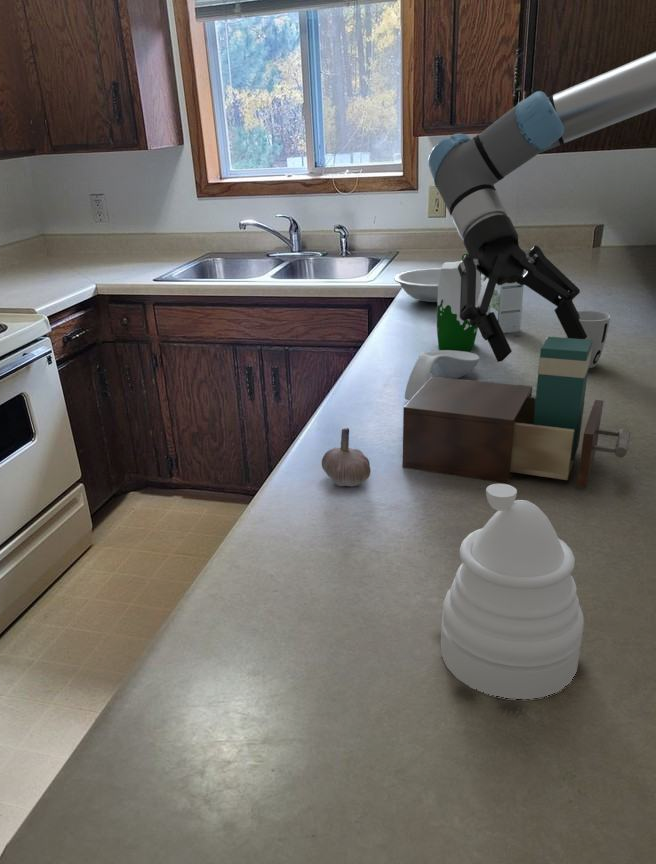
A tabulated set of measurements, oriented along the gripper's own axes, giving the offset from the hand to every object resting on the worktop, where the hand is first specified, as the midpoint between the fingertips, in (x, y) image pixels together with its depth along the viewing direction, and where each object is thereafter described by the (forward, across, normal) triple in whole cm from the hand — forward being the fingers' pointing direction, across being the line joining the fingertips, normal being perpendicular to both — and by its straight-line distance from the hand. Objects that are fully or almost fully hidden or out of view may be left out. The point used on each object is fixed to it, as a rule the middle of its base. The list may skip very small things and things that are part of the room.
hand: (543, 349), depth 106 cm
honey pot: (+37, +33, +14) cm, 52 cm away
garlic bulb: (+8, +29, -16) cm, 34 cm away
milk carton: (-25, -23, -48) cm, 59 cm away
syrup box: (-29, -40, -52) cm, 72 cm away
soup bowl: (-54, -45, -77) cm, 104 cm away
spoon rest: (-12, -6, -36) cm, 38 cm away
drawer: (+15, +1, -7) cm, 16 cm away
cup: (-8, -36, -32) cm, 49 cm away
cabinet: (+9, +10, -14) cm, 19 cm away
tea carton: (+13, 0, -7) cm, 15 cm away
